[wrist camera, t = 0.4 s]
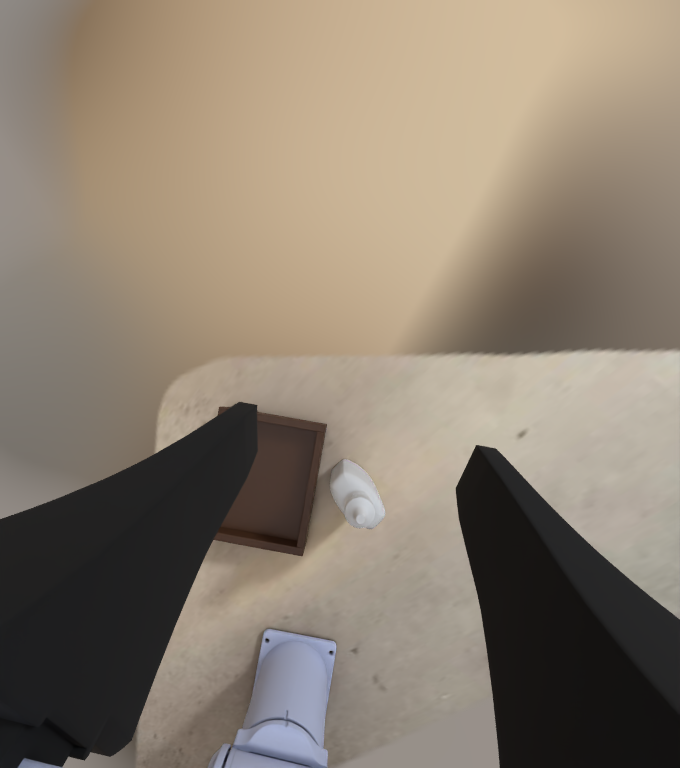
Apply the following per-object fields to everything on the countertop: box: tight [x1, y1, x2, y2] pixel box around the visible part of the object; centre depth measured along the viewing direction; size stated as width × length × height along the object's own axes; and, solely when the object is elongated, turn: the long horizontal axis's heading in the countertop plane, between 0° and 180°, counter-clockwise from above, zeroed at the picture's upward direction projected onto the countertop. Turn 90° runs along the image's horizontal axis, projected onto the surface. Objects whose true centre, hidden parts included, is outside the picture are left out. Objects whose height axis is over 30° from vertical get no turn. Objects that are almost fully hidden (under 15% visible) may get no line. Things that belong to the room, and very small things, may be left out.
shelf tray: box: [213, 407, 327, 556], centre depth 34 cm, size 14×12×3 cm
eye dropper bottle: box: [330, 459, 385, 529], centre depth 29 cm, size 4×6×12 cm
